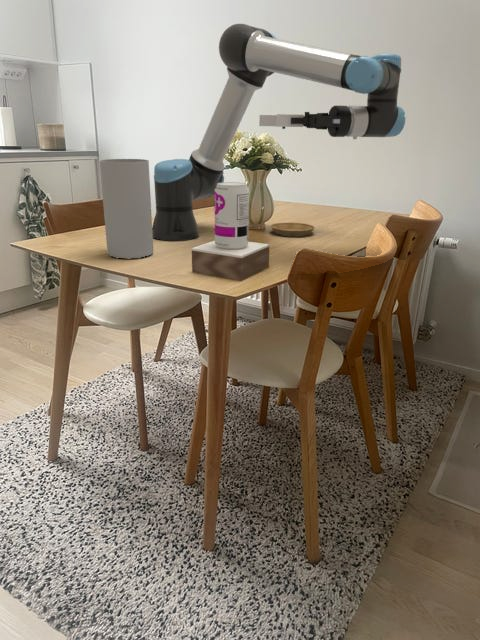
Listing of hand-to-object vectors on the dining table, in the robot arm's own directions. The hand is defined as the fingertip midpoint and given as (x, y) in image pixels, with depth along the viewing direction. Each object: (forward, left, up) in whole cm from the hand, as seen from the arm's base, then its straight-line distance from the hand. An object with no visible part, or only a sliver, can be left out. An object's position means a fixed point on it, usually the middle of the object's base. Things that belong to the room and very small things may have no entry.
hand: (267, 120), depth 125 cm
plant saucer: (-8, +35, -36) cm, 51 cm away
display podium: (-2, -15, -35) cm, 38 cm away
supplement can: (-2, -15, -29) cm, 33 cm away
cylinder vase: (-34, -16, -35) cm, 51 cm away
